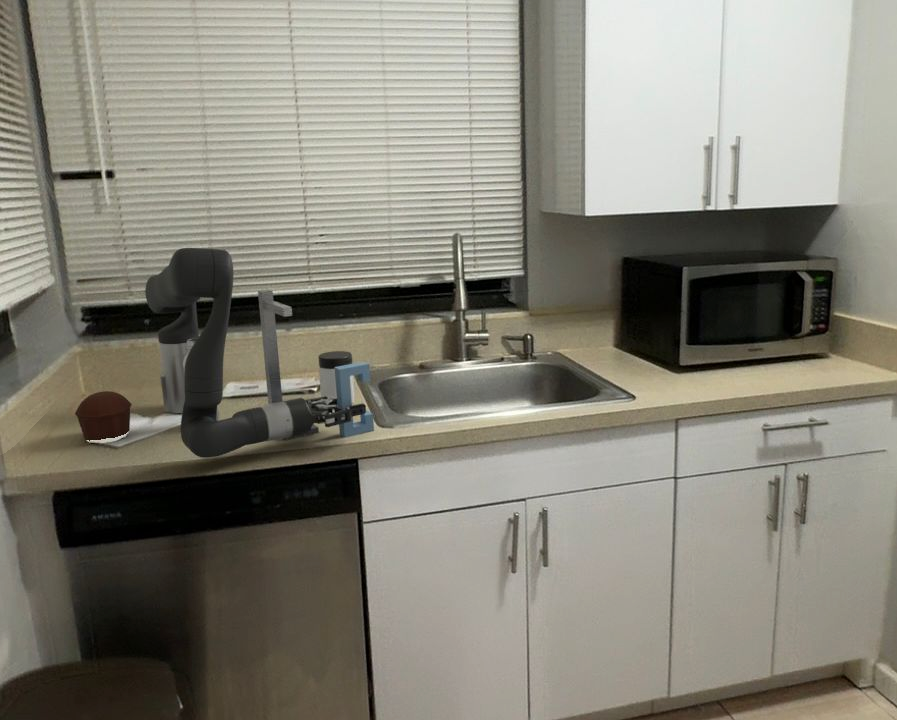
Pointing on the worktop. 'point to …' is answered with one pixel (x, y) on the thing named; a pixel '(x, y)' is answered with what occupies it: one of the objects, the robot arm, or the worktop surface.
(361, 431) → the c link
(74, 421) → the worktop surface
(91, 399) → the muffin
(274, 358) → the stand
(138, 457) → the worktop surface
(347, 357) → the jar
